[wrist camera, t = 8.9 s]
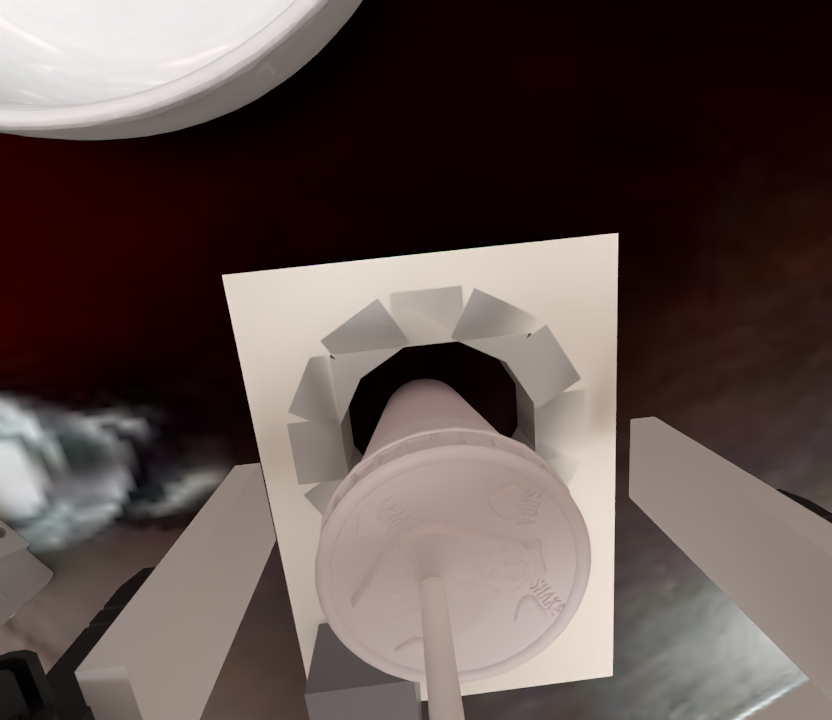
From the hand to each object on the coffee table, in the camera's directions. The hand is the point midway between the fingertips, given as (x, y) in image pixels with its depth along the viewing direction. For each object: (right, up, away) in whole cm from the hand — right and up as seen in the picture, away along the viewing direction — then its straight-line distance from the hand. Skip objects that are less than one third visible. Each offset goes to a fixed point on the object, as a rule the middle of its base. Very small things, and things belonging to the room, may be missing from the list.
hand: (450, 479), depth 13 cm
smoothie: (-1, +1, +6) cm, 6 cm away
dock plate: (0, -2, +6) cm, 6 cm away
